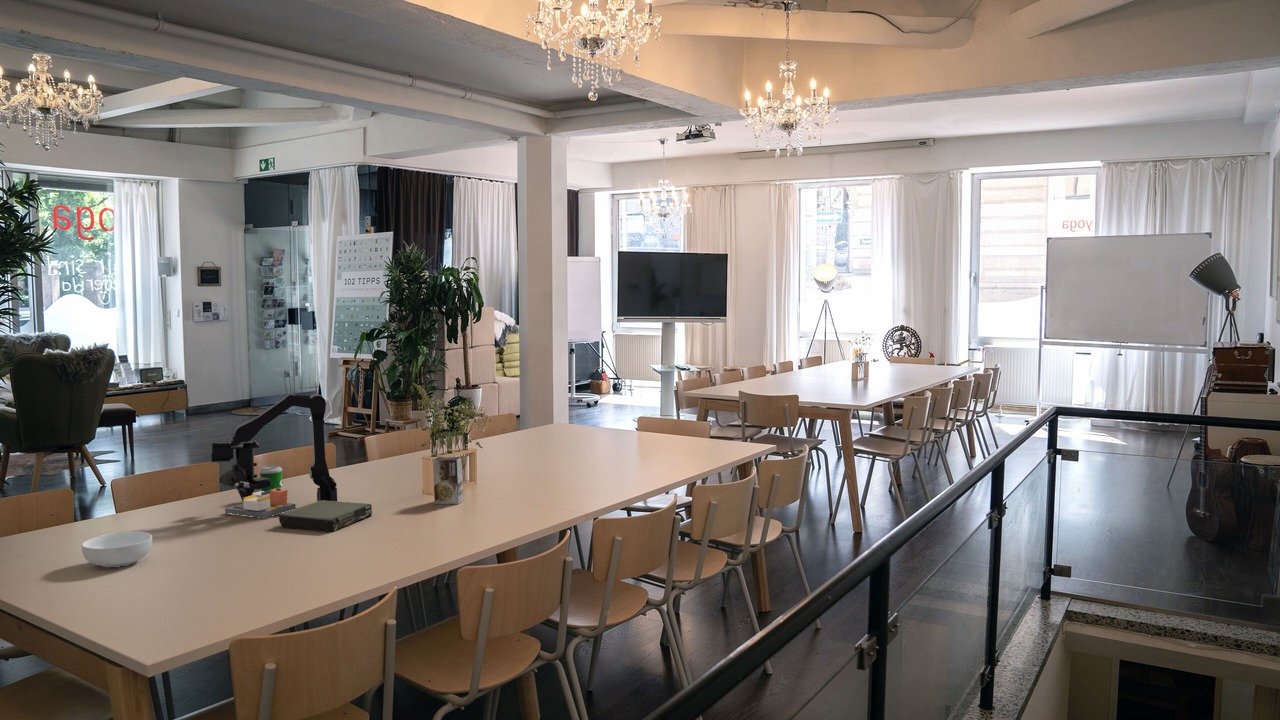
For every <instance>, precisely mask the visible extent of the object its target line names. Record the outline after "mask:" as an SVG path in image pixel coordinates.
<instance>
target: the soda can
mask: <svg viewBox="0 0 1280 720" xmlns="http://www.w3.org/2000/svg"><path fill="white" fill-rule="evenodd" d="M259 475H260V476H259V478H261V477H263V478H269V479H270V480H271V486H270V487H266V488H262V489H261V491H269V490H272V489H276V488H282V489H284V484H283V483H284V481H283V468H282V467H280V465H266V466H265V465H264V466H263V467H261V469H260V470H259Z"/></svg>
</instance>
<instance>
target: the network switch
mask: <svg viewBox="0 0 1280 720" xmlns="http://www.w3.org/2000/svg"><path fill="white" fill-rule="evenodd" d="M372 509H373V507H372V504H371V503H361V502H351V501H350V502H347V501H338V500H337V501H325V500H322V501H317V500H316V501H315V502H311V503H308V504H305V505H302V506H299V507H297V508H296V509H293V510H290V511H287V512H284V513H282V514H279V515H278V522H279V524H280V525H281V526H282V527H283V528H285V527H288V528H287V529H295V528H299V529H298V530H306V529H308V530H307V531H314V530H317V531H316V532H323V531H326V532H325V533H334V532H336V530H338V529H342V528H343V527H346V526H349V525H352V524H353V523H356V522H358V521H360V520H363V519H365V518H368V517H372V516H373V515H372V514H373V511H372ZM333 531H334V532H333Z"/></svg>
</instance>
